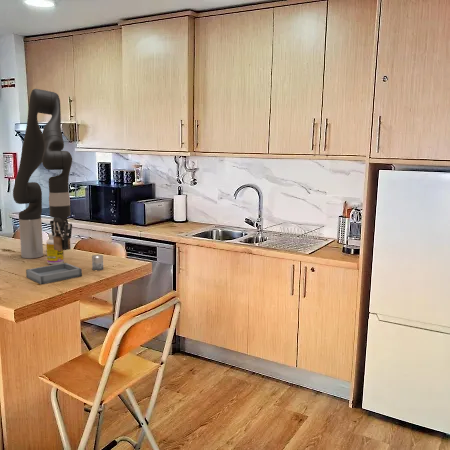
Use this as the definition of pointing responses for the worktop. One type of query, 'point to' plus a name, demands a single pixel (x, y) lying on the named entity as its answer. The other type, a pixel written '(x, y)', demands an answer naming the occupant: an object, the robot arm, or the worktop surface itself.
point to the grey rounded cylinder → (97, 262)
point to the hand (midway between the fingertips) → (62, 248)
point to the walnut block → (59, 243)
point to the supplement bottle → (53, 252)
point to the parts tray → (53, 273)
